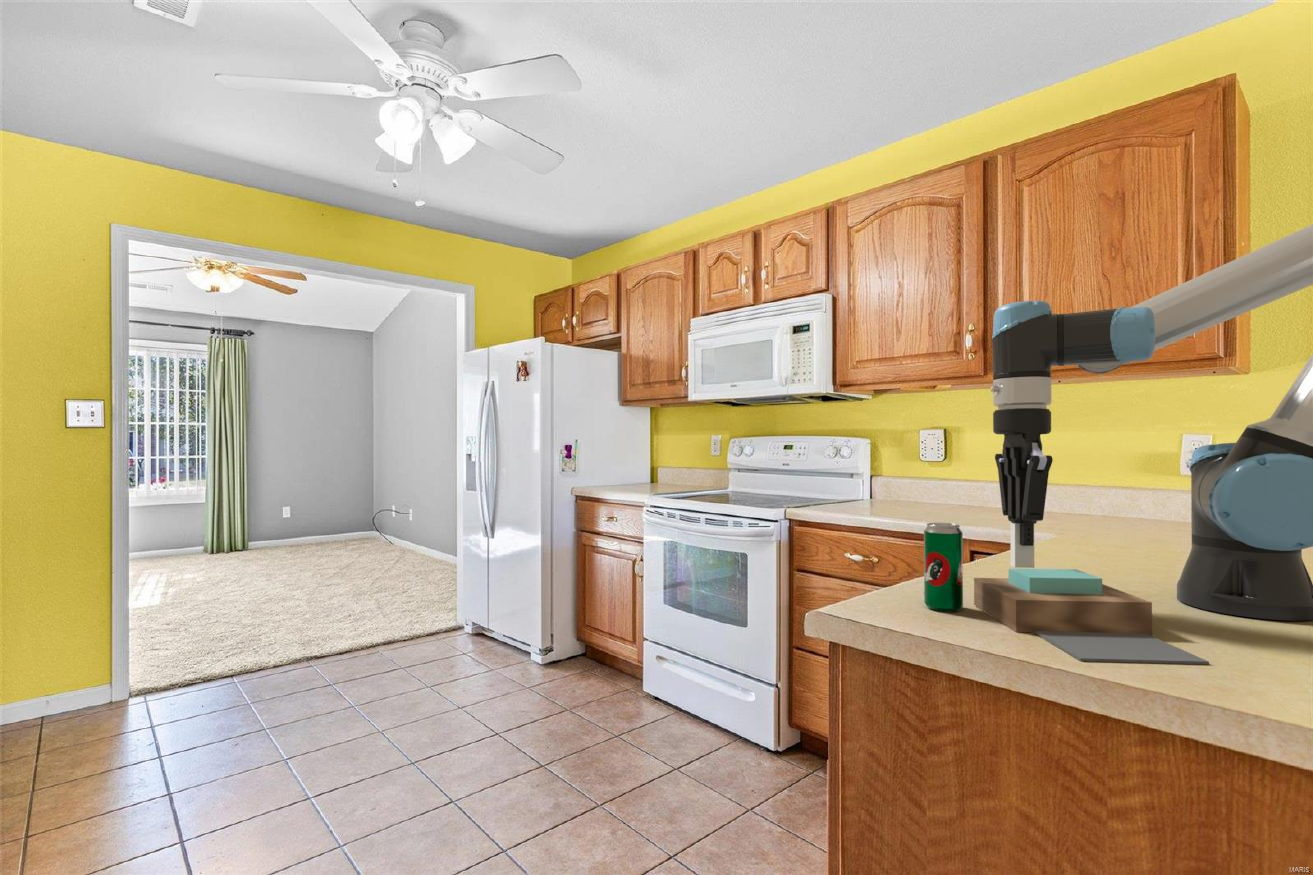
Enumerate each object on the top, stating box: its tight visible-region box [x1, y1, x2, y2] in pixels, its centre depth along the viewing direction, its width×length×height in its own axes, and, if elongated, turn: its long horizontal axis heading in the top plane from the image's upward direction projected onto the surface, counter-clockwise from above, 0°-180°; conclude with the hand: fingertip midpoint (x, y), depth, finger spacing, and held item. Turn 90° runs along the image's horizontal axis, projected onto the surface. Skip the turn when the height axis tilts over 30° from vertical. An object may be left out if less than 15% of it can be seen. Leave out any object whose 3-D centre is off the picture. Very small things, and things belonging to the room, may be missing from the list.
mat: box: [1034, 631, 1210, 665], centre depth 74 cm, size 13×10×1 cm
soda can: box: [923, 522, 964, 613], centre depth 92 cm, size 5×5×12 cm
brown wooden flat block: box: [973, 577, 1153, 636], centre depth 86 cm, size 16×13×4 cm
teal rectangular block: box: [1008, 568, 1103, 594], centre depth 87 cm, size 9×6×2 cm, turn 85°
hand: (1022, 566), depth 95 cm, fingers closed
